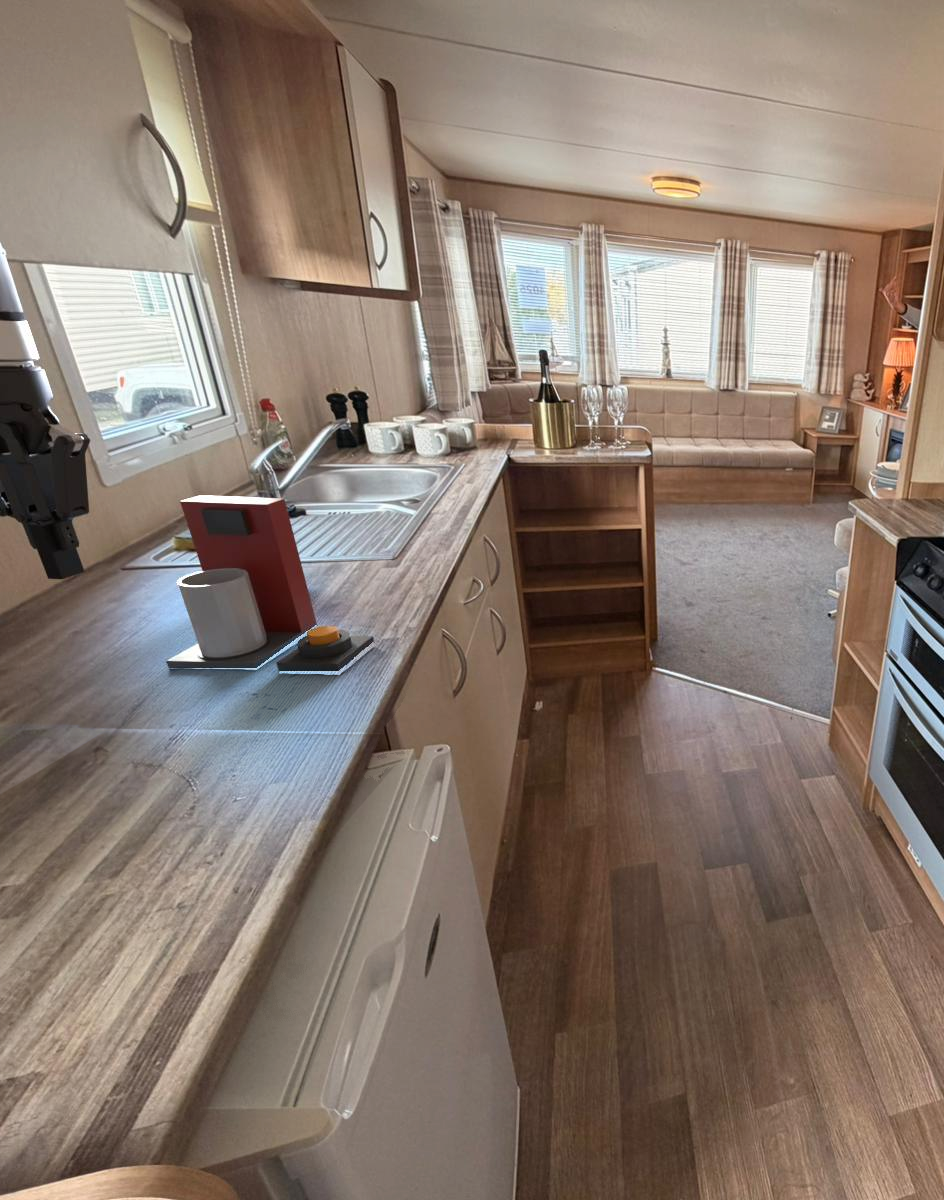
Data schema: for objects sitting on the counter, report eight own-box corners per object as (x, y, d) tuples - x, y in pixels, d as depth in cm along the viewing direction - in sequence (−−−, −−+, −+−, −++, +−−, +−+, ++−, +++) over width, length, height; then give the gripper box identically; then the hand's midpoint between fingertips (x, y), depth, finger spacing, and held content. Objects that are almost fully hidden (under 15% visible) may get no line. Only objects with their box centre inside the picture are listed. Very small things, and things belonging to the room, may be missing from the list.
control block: (340, 676, 100) (334, 653, 98) (279, 675, 99) (272, 652, 97) (375, 647, 109) (371, 626, 107) (320, 646, 108) (315, 624, 107)
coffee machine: (257, 671, 100) (211, 523, 90) (168, 669, 99) (113, 519, 89) (318, 630, 113) (284, 498, 104) (241, 628, 112) (200, 495, 103)
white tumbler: (187, 657, 99) (161, 585, 94) (227, 634, 107) (206, 567, 102) (242, 658, 100) (220, 587, 95) (279, 635, 107) (260, 569, 103)
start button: (329, 646, 101) (327, 636, 100) (303, 645, 100) (300, 635, 100) (345, 635, 104) (342, 625, 104) (319, 634, 104) (317, 625, 103)
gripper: (91, 366, 70) (154, 567, 79) (-42, 356, 69) (38, 562, 78) (19, 369, 63) (97, 589, 72) (-130, 358, 62) (-32, 583, 71)
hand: (66, 575), depth 75 cm, fingers closed
